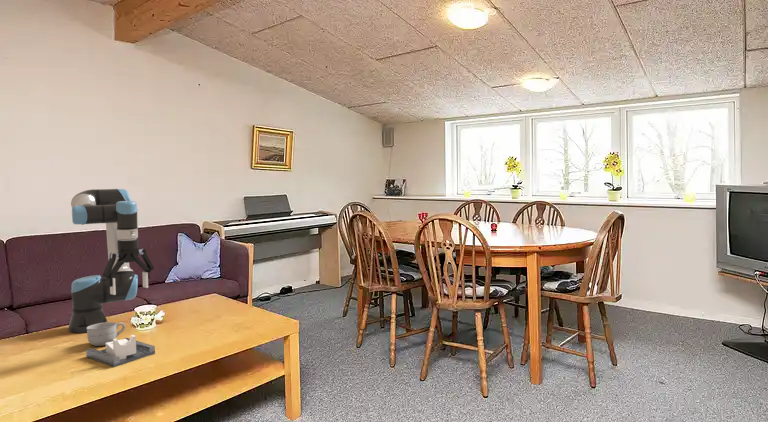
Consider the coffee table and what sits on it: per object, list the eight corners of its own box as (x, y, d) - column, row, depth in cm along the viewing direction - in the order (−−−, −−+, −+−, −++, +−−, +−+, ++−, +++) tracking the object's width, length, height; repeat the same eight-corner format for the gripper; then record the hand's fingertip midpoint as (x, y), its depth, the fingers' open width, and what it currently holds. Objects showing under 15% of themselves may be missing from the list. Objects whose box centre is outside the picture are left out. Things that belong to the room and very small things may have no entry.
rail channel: (86, 357, 188) (85, 349, 188) (127, 344, 202) (126, 337, 202) (114, 367, 178) (113, 358, 178) (155, 353, 192) (154, 346, 192)
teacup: (86, 350, 196) (85, 330, 196) (88, 342, 206) (87, 323, 205) (125, 344, 203) (125, 325, 202) (125, 336, 212) (125, 318, 212)
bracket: (136, 355, 187) (135, 336, 186) (115, 360, 182) (114, 340, 181) (125, 347, 196) (125, 328, 195) (106, 351, 191) (105, 332, 191)
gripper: (101, 244, 187) (103, 298, 189) (161, 236, 208) (163, 285, 210) (90, 242, 191) (93, 295, 193) (151, 235, 212) (153, 283, 214)
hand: (129, 290), depth 202 cm, fingers open, 13 cm apart
